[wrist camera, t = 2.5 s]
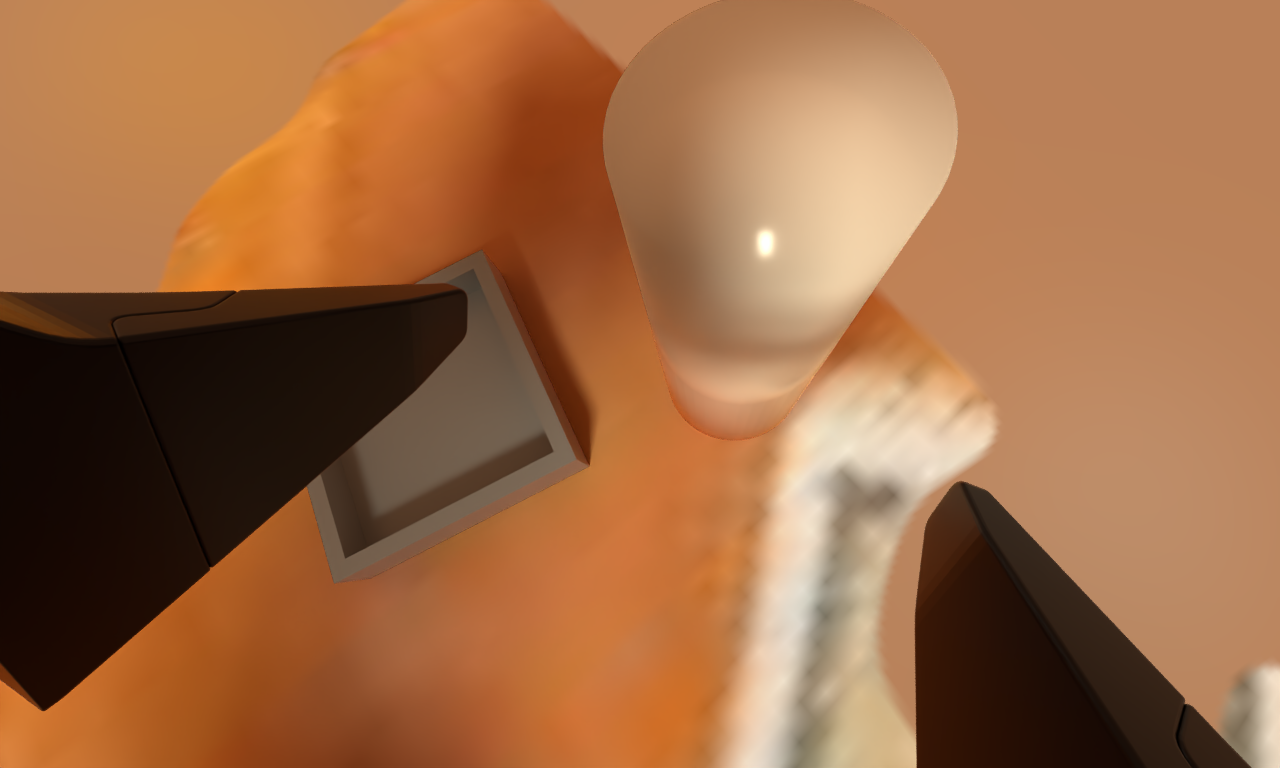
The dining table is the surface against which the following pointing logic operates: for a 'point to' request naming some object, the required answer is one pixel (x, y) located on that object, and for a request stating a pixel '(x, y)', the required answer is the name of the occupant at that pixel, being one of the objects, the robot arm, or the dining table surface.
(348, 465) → the tray
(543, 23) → the dining table surface
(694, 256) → the beige tapered rounded piece
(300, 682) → the dining table surface
